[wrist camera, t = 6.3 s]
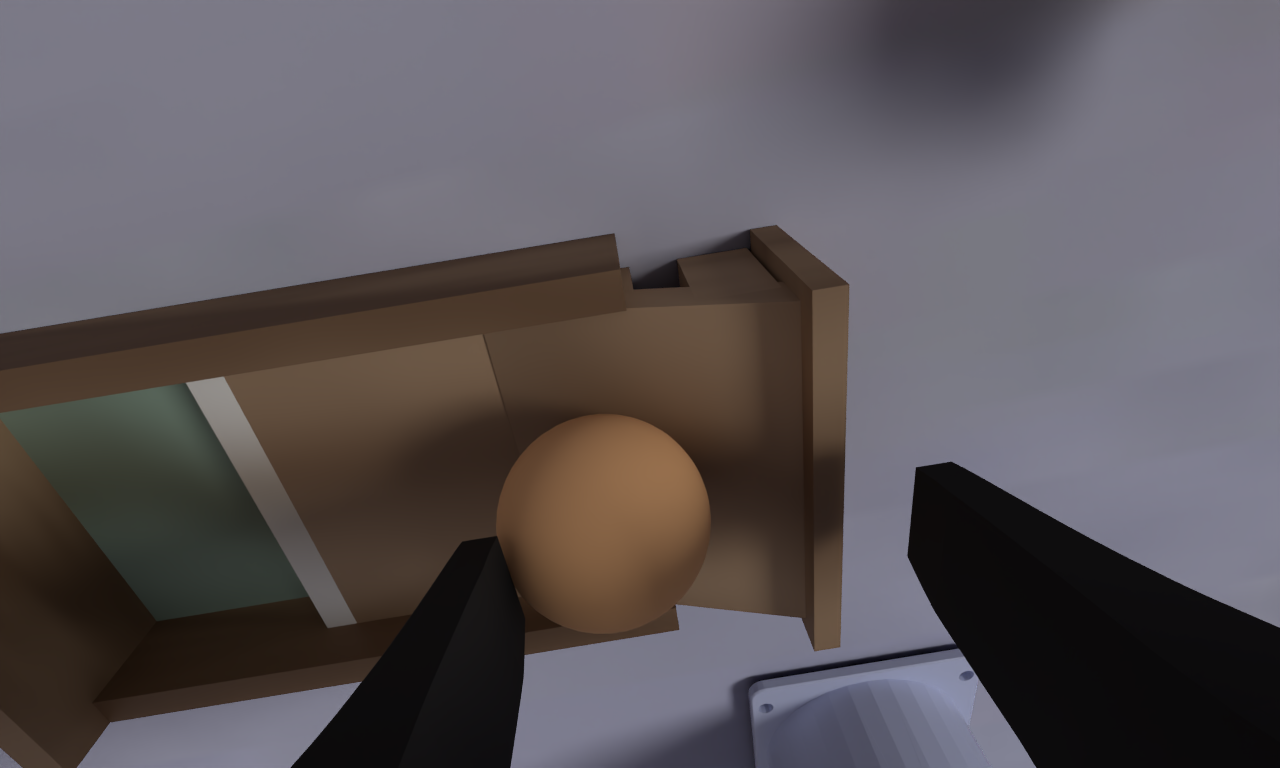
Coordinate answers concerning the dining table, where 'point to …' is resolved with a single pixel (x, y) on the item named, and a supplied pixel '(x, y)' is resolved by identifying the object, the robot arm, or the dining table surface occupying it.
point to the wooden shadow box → (384, 465)
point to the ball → (603, 523)
